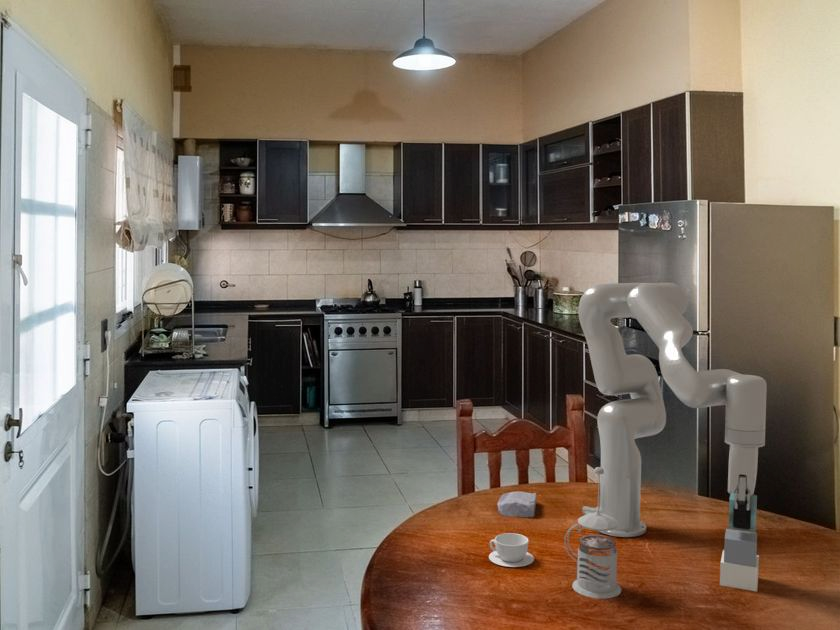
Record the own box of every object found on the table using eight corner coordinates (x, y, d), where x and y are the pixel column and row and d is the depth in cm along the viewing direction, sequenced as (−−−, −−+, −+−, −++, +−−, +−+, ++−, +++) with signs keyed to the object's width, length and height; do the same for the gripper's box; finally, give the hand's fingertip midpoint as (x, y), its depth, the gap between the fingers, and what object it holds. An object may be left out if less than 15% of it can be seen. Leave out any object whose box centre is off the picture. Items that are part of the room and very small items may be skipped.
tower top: (723, 562, 158) (724, 538, 158) (725, 551, 164) (726, 528, 163) (755, 567, 156) (756, 543, 155) (756, 556, 161) (757, 532, 161)
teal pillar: (728, 528, 158) (729, 499, 157) (730, 520, 162) (730, 492, 162) (755, 531, 156) (756, 502, 155) (756, 523, 160) (756, 495, 160)
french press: (612, 603, 151) (615, 477, 148) (556, 589, 157) (558, 468, 155) (628, 584, 159) (630, 464, 157) (573, 571, 165) (576, 456, 163)
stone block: (498, 523, 199) (537, 518, 197) (494, 505, 199) (533, 500, 197) (502, 509, 210) (538, 504, 208) (498, 492, 210) (535, 487, 208)
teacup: (539, 555, 174) (539, 534, 174) (527, 572, 165) (527, 551, 165) (496, 548, 178) (496, 528, 178) (482, 564, 169) (482, 543, 169)
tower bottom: (719, 585, 159) (720, 562, 158) (722, 572, 165) (723, 550, 164) (757, 592, 156) (758, 568, 155) (758, 578, 162) (759, 555, 161)
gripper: (727, 425, 167) (725, 508, 168) (722, 444, 151) (719, 534, 153) (765, 428, 164) (763, 513, 165) (764, 447, 148) (761, 540, 150)
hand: (742, 522), depth 159 cm, fingers closed on teal pillar, 4 cm apart
